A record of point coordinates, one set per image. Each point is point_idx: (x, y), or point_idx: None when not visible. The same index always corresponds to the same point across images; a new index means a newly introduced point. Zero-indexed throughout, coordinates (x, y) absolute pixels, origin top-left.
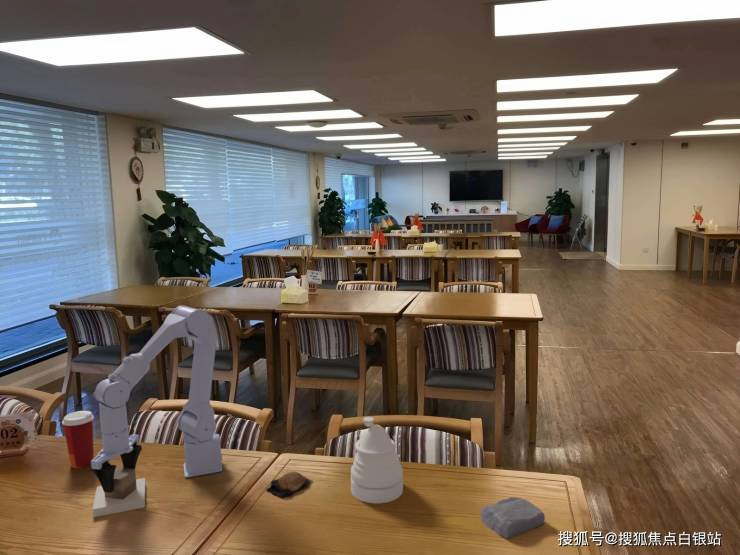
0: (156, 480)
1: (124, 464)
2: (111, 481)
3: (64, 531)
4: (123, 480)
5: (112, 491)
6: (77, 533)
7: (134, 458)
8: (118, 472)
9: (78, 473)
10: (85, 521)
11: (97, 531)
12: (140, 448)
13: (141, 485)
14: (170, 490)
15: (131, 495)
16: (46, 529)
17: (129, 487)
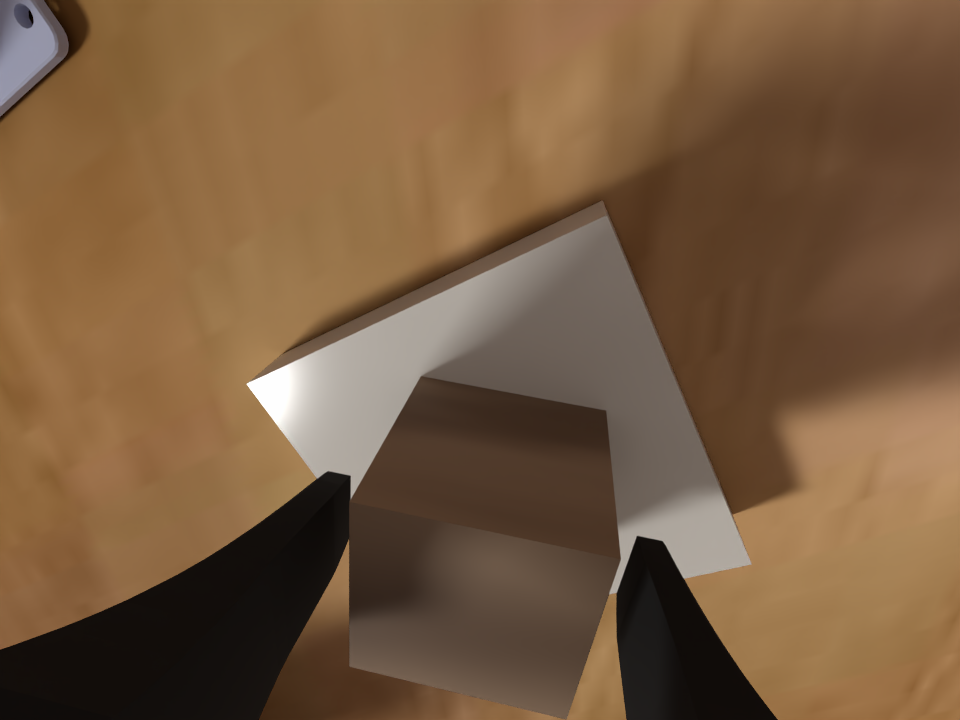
0: (197, 304)
1: (290, 634)
2: (712, 646)
3: (889, 605)
4: (582, 528)
5: (645, 538)
6: (943, 531)
7: (224, 620)
8: (448, 631)
9: (273, 715)
10: (778, 540)
11: (956, 418)
12: (4, 699)
13: (364, 359)
14: (298, 94)
15: (536, 371)
16: (837, 686)
17: (506, 427)
